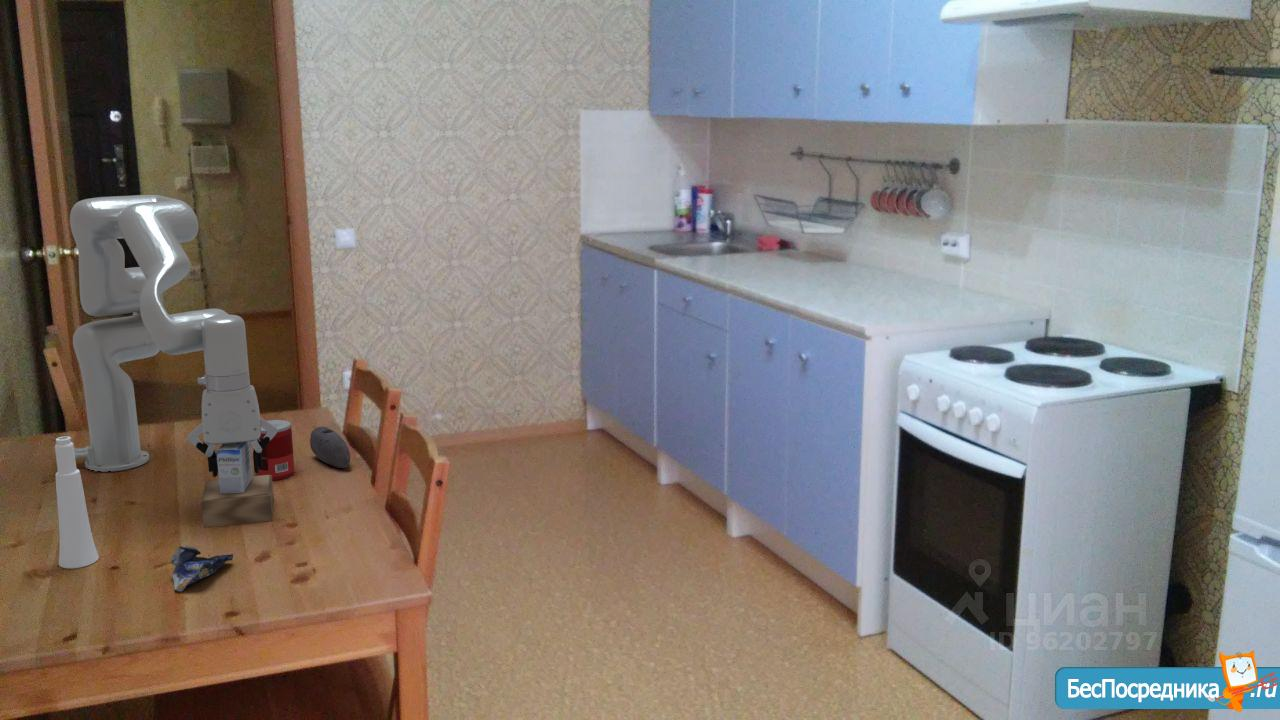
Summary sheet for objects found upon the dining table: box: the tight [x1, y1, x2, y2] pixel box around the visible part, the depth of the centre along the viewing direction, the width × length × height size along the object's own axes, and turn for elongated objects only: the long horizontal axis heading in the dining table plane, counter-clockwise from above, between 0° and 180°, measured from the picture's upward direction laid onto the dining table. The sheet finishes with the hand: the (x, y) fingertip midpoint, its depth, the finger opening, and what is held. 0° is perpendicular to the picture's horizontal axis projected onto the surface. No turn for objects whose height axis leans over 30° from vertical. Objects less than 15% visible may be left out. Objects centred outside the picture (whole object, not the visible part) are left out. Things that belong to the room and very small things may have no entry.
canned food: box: [252, 419, 295, 482], centre depth 223 cm, size 8×8×11 cm
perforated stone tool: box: [309, 426, 351, 469], centre depth 230 cm, size 15×5×7 cm, turn 38°
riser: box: [200, 475, 275, 529], centre depth 202 cm, size 12×12×5 cm
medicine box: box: [216, 442, 254, 494], centre depth 201 cm, size 8×4×9 cm, turn 8°
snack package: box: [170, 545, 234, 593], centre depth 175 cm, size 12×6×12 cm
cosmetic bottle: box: [54, 436, 99, 570], centre depth 178 cm, size 6×6×22 cm
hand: (236, 472), depth 201 cm, fingers open, 6 cm apart
